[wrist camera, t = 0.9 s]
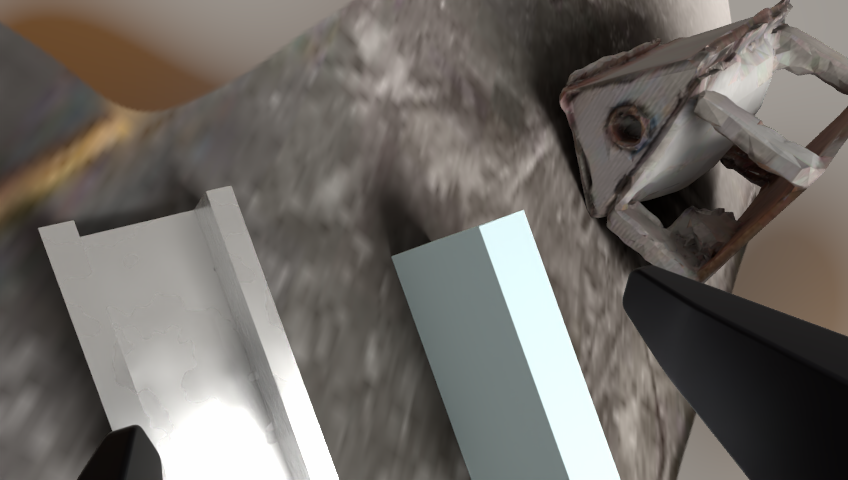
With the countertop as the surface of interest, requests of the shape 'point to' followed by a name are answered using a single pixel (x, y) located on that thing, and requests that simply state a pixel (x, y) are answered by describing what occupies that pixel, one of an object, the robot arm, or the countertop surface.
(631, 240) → the rusty metal skip
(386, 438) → the countertop surface
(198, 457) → the floor track
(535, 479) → the door panel
